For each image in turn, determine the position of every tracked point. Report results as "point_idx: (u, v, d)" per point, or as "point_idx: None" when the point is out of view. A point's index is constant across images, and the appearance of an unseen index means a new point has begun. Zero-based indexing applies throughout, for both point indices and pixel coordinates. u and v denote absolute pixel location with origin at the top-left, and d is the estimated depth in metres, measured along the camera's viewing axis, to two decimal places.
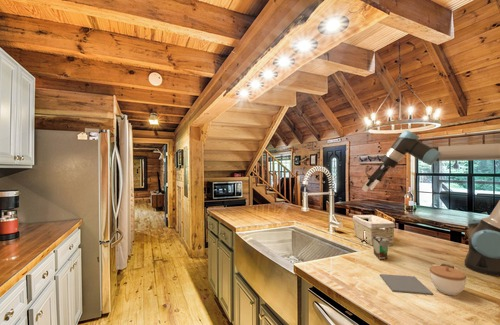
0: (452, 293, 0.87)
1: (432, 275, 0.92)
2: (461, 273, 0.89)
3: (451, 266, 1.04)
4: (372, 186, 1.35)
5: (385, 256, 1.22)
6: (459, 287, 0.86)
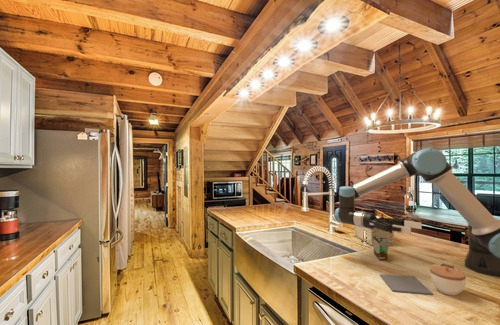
0: (452, 293, 0.87)
1: (432, 275, 0.92)
2: (461, 273, 0.89)
3: (451, 266, 1.04)
4: (415, 224, 1.05)
5: (385, 256, 1.22)
6: (459, 287, 0.86)
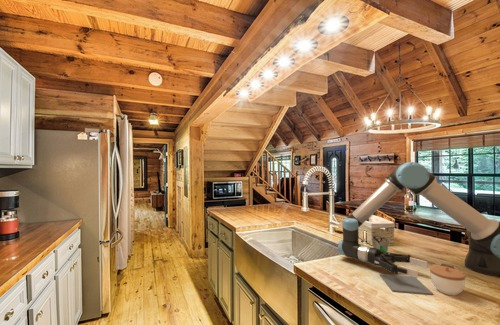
0: (452, 293, 0.87)
1: (432, 275, 0.92)
2: (461, 273, 0.89)
3: (451, 266, 1.04)
4: (421, 262, 1.03)
5: None
6: (459, 287, 0.86)
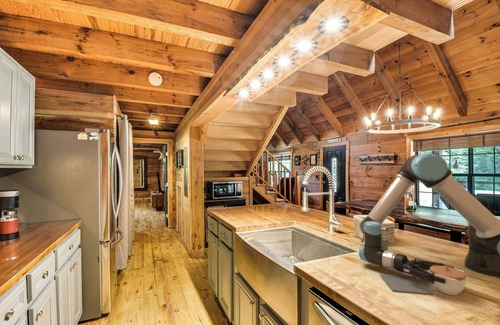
0: (452, 293, 0.87)
1: None
2: (461, 273, 0.89)
3: (451, 266, 1.04)
4: None
5: None
6: (459, 287, 0.86)
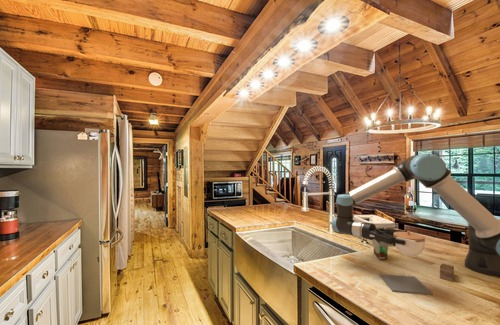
0: (412, 254, 0.93)
1: None
2: (421, 236, 0.94)
3: (451, 266, 1.04)
4: None
5: (385, 256, 1.22)
6: (417, 248, 0.91)
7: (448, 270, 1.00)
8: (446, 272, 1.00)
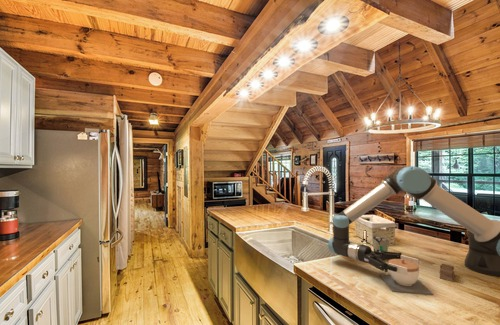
0: (406, 284, 0.93)
1: None
2: (415, 265, 0.95)
3: (451, 266, 1.04)
4: (412, 260, 1.00)
5: None
6: (412, 277, 0.92)
7: (448, 270, 1.00)
8: (446, 272, 1.00)
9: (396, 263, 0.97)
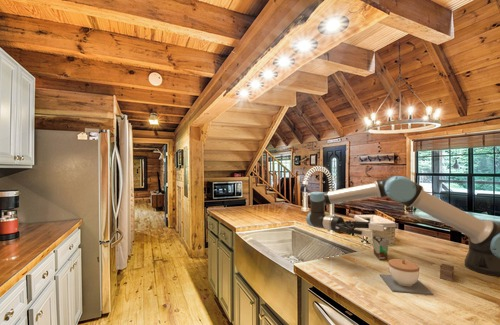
0: (406, 284, 0.93)
1: (390, 267, 0.98)
2: (416, 265, 0.95)
3: (451, 266, 1.04)
4: (378, 226, 1.10)
5: (385, 256, 1.22)
6: (412, 278, 0.92)
7: (448, 270, 1.00)
8: (446, 272, 1.00)
9: (396, 263, 0.97)
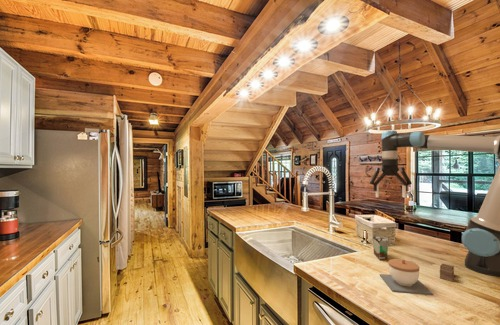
0: (406, 284, 0.93)
1: (390, 267, 0.98)
2: (416, 265, 0.95)
3: (451, 266, 1.04)
4: (403, 193, 1.28)
5: (385, 256, 1.22)
6: (412, 278, 0.92)
7: (448, 270, 1.00)
8: (446, 272, 1.00)
9: (396, 263, 0.97)
